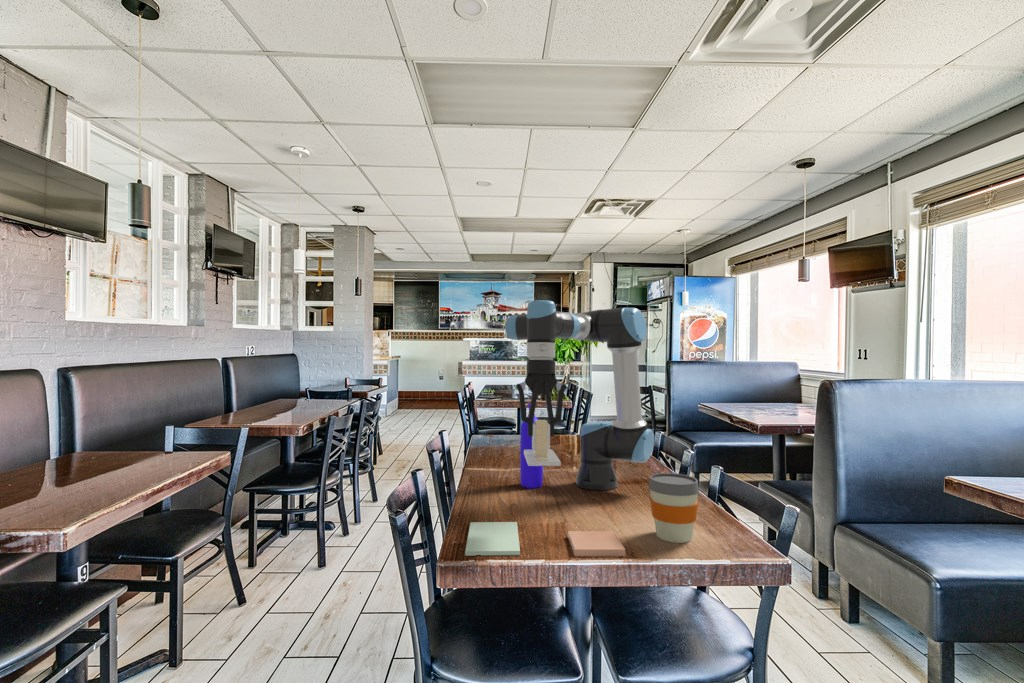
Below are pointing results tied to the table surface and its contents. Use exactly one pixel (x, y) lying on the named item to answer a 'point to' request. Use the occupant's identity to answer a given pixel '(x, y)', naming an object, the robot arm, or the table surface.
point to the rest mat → (492, 539)
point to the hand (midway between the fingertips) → (540, 448)
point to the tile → (595, 543)
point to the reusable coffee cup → (674, 506)
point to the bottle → (529, 474)
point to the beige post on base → (541, 448)
